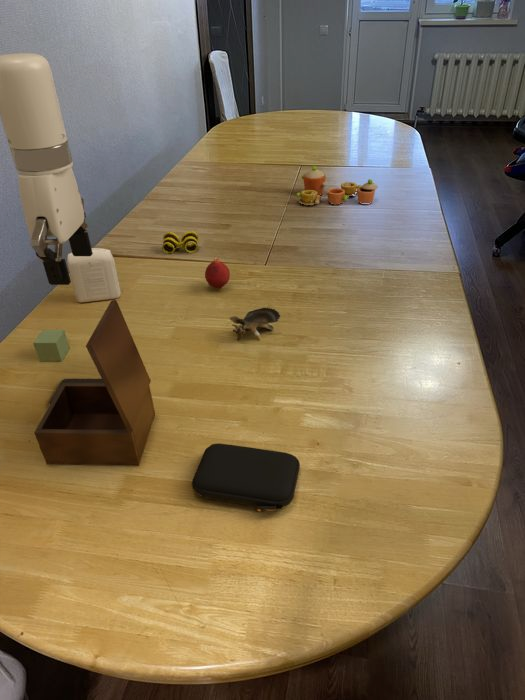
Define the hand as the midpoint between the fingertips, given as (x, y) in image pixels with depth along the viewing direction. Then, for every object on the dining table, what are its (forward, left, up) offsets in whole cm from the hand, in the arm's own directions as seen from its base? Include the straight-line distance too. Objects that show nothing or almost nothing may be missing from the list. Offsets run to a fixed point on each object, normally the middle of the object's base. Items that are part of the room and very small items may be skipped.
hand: (72, 269), depth 81 cm
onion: (+17, +37, -24) cm, 47 cm away
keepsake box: (+4, -13, -24) cm, 28 cm away
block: (-13, +10, -24) cm, 29 cm away
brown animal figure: (+27, +17, -24) cm, 40 cm away
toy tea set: (+49, +98, -24) cm, 112 cm away
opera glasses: (+4, +59, -24) cm, 64 cm away
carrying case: (+28, -22, -24) cm, 43 cm away
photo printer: (-11, +33, -24) cm, 42 cm away
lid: (+9, -13, -9) cm, 19 cm away
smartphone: (-1, -2, -24) cm, 24 cm away
